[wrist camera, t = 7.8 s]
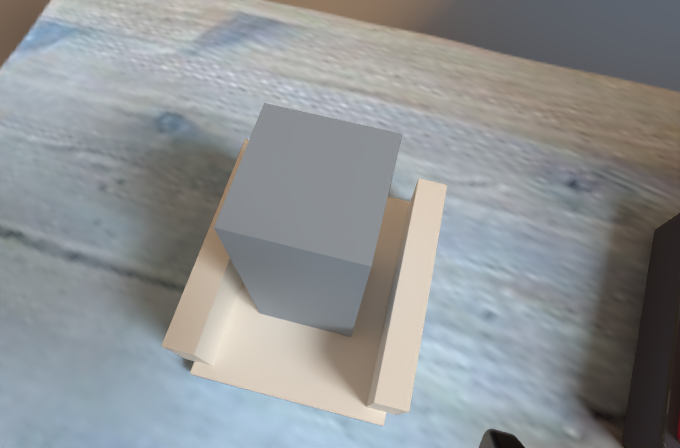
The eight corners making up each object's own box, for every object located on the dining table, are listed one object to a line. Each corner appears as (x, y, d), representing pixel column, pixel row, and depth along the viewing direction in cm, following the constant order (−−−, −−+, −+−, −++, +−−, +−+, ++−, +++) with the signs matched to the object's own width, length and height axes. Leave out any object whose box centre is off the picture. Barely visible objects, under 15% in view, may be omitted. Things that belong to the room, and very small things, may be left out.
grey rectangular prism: (350, 337, 19) (371, 266, 11) (260, 313, 19) (213, 227, 11) (371, 251, 21) (402, 134, 13) (287, 230, 21) (264, 103, 13)
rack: (391, 428, 18) (406, 427, 15) (184, 372, 19) (155, 360, 16) (430, 212, 22) (448, 175, 19) (259, 172, 23) (249, 129, 20)
